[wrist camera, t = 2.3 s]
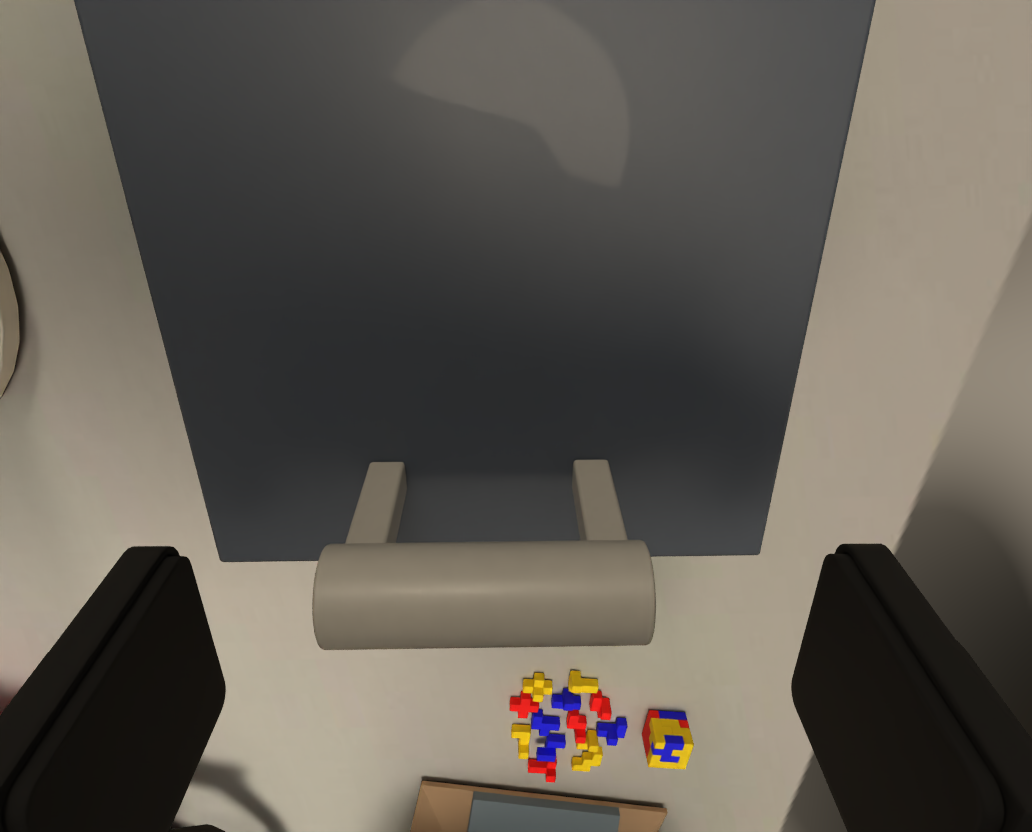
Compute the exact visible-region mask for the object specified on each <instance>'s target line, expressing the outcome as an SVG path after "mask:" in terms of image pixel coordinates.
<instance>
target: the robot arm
mask: <svg viewBox="0 0 1032 832" xmlns="http://www.w3.org/2000/svg"><path fill="white" fill-rule="evenodd" d="M19 342H20V335H19V314H18V304H17V300H16V296H15V292H14V288H13V284H12V280H11V276H10V272H9V269H8V266H7V264H6V262H5V260H4V258H3V255H2V253H1V251H0V398H1V396H2V394H3V392H4V390H5V388H6V386H7V384H8V382H9V380H10V378H11V376H12V374H13V372H14V368H15V363H16V357H17V352H18V347H19ZM791 690H792V697H793V702H794V705H795V708H796V710H797V713H798V715H799V717H800V720H801V722H802V724H803V727H804V729H805V732H806V734H807V736H808V739H809V741H810V743H811V746H812V748H813V751H814V753H815V755H816V758H817V760H818V762H819V765H820V767H821V769H822V771H823V774H824V777H825V779H826V781H827V784H828V786H829V789H830V791H831V793H832V795H833V798H834V800H835V803H836V805H837V807H838V810H839V812H840V815H841V817H842V819H843V822H844V824H845V826H846V829H847V831H848V832H1032V739H1031V737H1030V736H1029V734H1028V733H1027V732H1026V730H1025V729H1024V728H1023V726H1022V725H1021V724H1020V722H1019V721H1018V720H1017V718H1016V717H1015V716H1014V714H1013V713H1012V712H1011V710H1010V709H1009V708H1008V706H1007V705H1006V703H1005V702H1004V701H1003V699H1002V698H1001V697H1000V696H999V694H998V693H997V691H996V690H995V689H994V687H993V686H992V684H991V683H990V682H989V681H988V679H987V678H986V676H985V675H984V674H983V673H982V671H981V670H980V668H979V667H978V666H977V664H976V663H975V662H974V660H973V659H972V657H971V656H970V655H969V653H968V652H967V651H966V650H965V648H964V647H963V646H962V645H961V644H960V643H959V642H958V641H957V640H955V638H954V637H953V635H952V634H951V633H950V631H949V630H948V629H947V627H946V626H945V625H944V623H943V622H942V621H941V619H940V618H939V616H938V615H937V614H936V613H935V611H934V610H933V608H932V607H931V605H930V604H929V603H928V601H927V600H926V599H925V597H924V596H923V595H922V593H921V592H920V591H919V589H918V588H917V586H916V585H915V584H914V583H913V581H912V580H911V578H910V577H909V576H908V574H907V573H906V572H905V570H904V569H903V567H902V566H901V565H900V563H899V562H898V561H897V559H896V558H895V557H894V555H893V554H892V552H891V551H890V550H889V549H888V548H887V547H886V546H885V545H882V544H842V545H840V546H839V547H838V548H837V549H836V552H835V554H828V555H827V556H826V557H825V559H824V562H823V565H822V569H821V573H820V576H819V580H818V584H817V588H816V591H815V595H814V599H813V603H812V607H811V610H810V614H809V618H808V622H807V625H806V629H805V633H804V637H803V640H802V644H801V648H800V652H799V655H798V659H797V663H796V667H795V670H794V674H793V678H792V686H791ZM225 692H226V688H225V681H224V677H223V674H222V670H221V667H220V663H219V660H218V656H217V653H216V649H215V646H214V642H213V639H212V635H211V632H210V628H209V625H208V621H207V618H206V614H205V611H204V607H203V604H202V600H201V597H200V593H199V590H198V586H197V583H196V579H195V576H194V572H193V569H192V565H191V563H190V560H189V559H188V558H187V557H184V556H180V555H179V553H178V551H177V550H176V549H175V548H174V547H170V546H138V547H131V548H128V549H127V550H126V551H125V552H124V553H123V555H122V556H121V557H120V559H119V560H118V561H117V563H116V564H115V565H114V566H113V568H112V569H111V570H110V572H109V573H108V574H107V576H106V577H105V578H104V580H103V581H102V582H101V584H100V585H99V586H98V588H97V589H96V590H95V592H94V593H93V594H92V596H91V597H90V598H89V600H88V601H87V602H86V604H85V605H84V606H83V607H82V609H81V610H80V611H79V613H78V614H77V615H76V617H75V618H74V619H73V621H72V622H71V623H70V625H69V626H68V627H67V629H66V630H65V631H64V633H63V634H62V635H61V637H60V638H59V639H58V641H57V642H56V643H55V645H54V646H53V647H52V649H51V650H50V651H49V652H48V653H47V654H46V656H45V657H44V658H43V660H42V661H41V662H40V663H39V665H38V666H37V667H36V669H35V670H34V671H33V673H32V674H31V675H30V677H29V678H28V679H27V681H26V682H25V683H24V685H23V686H22V687H21V689H20V690H19V691H18V693H17V694H16V695H15V697H14V698H13V699H12V700H11V702H10V703H9V704H8V706H7V707H6V708H5V710H4V711H3V712H2V714H1V715H0V832H169V830H170V828H171V826H172V823H173V821H174V819H175V816H176V814H177V812H178V809H179V807H180V805H181V802H182V800H183V798H184V796H185V793H186V791H187V789H188V786H189V784H190V782H191V779H192V777H193V775H194V772H195V770H196V768H197V766H198V763H199V761H200V759H201V756H202V754H203V752H204V749H205V747H206V745H207V742H208V740H209V738H210V736H211V733H212V731H213V729H214V726H215V724H216V722H217V719H218V717H219V715H220V713H221V710H222V707H223V704H224V700H225Z"/></svg>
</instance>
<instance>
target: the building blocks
mask: <svg viewBox="0 0 1032 832" xmlns="http://www.w3.org/2000/svg"><path fill="white" fill-rule="evenodd" d="M598 687H599V686H598V679H587V678H581V673H580V671H571V672H570V677H569V681H568V689H567V688H563V692H562V695H559V694H553V695H552V700H551V703H552V708H558V709H563V710H566V711H568V716H567V720H566V722H567V728H570V729H574V732H575V742H576V747H577V749H586V750H588V752H583V753H582V757H573V758H572V762H571V764H572V770H574V771H590V767H591V766H600V763H601V759H602V756H603V753H602V747H599V745H598V738H597V736H599V737H606V740H607V745H613V746H616V745H617V741H618V738H624V736H625V733H626V729H627V721H626V718H617V720H616V724H610V723H597V727H596V730H588V731H587V735H586V732H585V728H586V724H587V722H586V716H583V715H579V712H578V710H580V707H581V697H580V696H574V695H573V693H581V692H585V693H592V694H591V698H590V702H589V705H590V711H597V715H598V718H601V720H610V718H611V714H612V713H611V707H610V701H609V698H602V691H598ZM552 689H553V687H552V681H550V680H544V673H534V678H533V679H524V680H523V691H521V695H520V698H519V697H511V698H510V711H518V718H527V717H528V712H533V713H532V719H531V726H530V725H519V724H512V729H511V738H519V741H518V753H519V759H528V755H529V746H528V745H529V740H530V734H531V729H539V736H547V737H546V742H545V748H544V747H537V752H536V756H537V760H535V759H529V761H528V773H544V774H546V782H555V779H556V770H555V768H556V764H557V760H556V749H555V748H565V744H566V740H565V735H560V734H549V731H550V730H555V731H559V727H560V718H559V717H552V716H543V710H542V709H539V702H542V701H543V696H544V694H547V695H551V694H552ZM531 693H532V696H533V698H531ZM642 737H643V742H644V747H645V752H646V757H647V762H648V767H656V768H673V769H685V768H686V765H687V763H688V760H689V757H690V754H691V752H692V749H693V746H694V743H693V740H692V736H691V732H690V729H689V725H688V721H687V718H686V714H685V712H673V711H657V710H649V712H648V716H647V719H646V722H645V726H644V729H643V732H642Z"/></svg>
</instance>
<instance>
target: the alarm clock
mask: <svg viewBox="0 0 1032 832" xmlns="http://www.w3.org/2000/svg"><path fill="white" fill-rule="evenodd" d="M666 815H667V809H666V808H658V807H649V806H640V805H631V804H623V803H614V802H605V801H596V800H588V799H579V798H570V797H562V796H553V795H544V794H535V793H527V792H518V791H509V790H500V789H492V788H483V787H474V786H466V785H457V784H448V783H439V782H431V781H422V783H421V787H420V791H419V796H418V800H417V804H416V809H415V813H414V817H413V822H412V826H411V830H410V832H658V831H659V829H660V827H661V825H662V823H663V821H664V819H665V817H666Z"/></svg>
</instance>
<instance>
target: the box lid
mask: <svg viewBox="0 0 1032 832" xmlns="http://www.w3.org/2000/svg"><path fill="white" fill-rule="evenodd" d="M875 1H876V0H74V2H75V6H76V10H77V14H78V18H79V21H80V25H81V29H82V33H83V37H84V41H85V44H86V48H87V52H88V56H89V60H90V64H91V67H92V71H93V75H94V79H95V83H96V87H97V90H98V94H99V98H100V102H101V106H102V110H103V113H104V117H105V121H106V125H107V129H108V133H109V136H110V140H111V144H112V148H113V152H114V156H115V159H116V163H117V167H118V171H119V175H120V179H121V182H122V186H123V190H124V194H125V198H126V202H127V205H128V209H129V213H130V217H131V221H132V225H133V228H134V232H135V236H136V240H137V244H138V248H139V251H140V255H141V259H142V263H143V267H144V271H145V274H146V278H147V282H148V286H149V290H150V294H151V297H152V301H153V305H154V309H155V313H156V317H157V320H158V324H159V328H160V332H161V336H162V340H163V343H164V347H165V351H166V355H167V359H168V363H169V366H170V370H171V374H172V378H173V382H174V386H175V389H176V393H177V397H178V401H179V405H180V409H181V412H182V416H183V420H184V424H185V428H186V432H187V435H188V439H189V443H190V447H191V451H192V455H193V458H194V462H195V466H196V470H197V474H198V478H199V481H200V485H201V489H202V493H203V497H204V501H205V504H206V508H207V512H208V516H209V520H210V524H211V527H212V531H213V535H214V539H215V543H216V547H217V550H218V554H219V558H220V560H221V561H222V562H262V561H318V564H317V568H316V573H315V579H314V587H313V607H312V609H313V625H314V632H315V636H316V640H317V643H318V645H319V647H320V648H322V649H324V650H358V649H425V648H492V647H559V646H626V645H648V644H649V643H650V642H651V640H652V637H653V633H654V627H655V616H656V597H655V582H654V574H653V567H652V562H651V557H650V556H722V555H758V554H759V553H760V550H761V545H762V540H763V535H764V531H765V526H766V521H767V516H768V512H769V507H770V502H771V497H772V492H773V488H774V483H775V478H776V473H777V469H778V464H779V459H780V454H781V450H782V445H783V440H784V435H785V430H786V426H787V421H788V416H789V411H790V407H791V402H792V397H793V392H794V388H795V383H796V378H797V373H798V368H799V364H800V359H801V354H802V349H803V345H804V340H805V335H806V330H807V326H808V321H809V316H810V311H811V307H812V302H813V297H814V292H815V287H816V283H817V278H818V273H819V268H820V264H821V259H822V254H823V249H824V245H825V240H826V235H827V230H828V225H829V221H830V216H831V211H832V206H833V202H834V197H835V192H836V187H837V183H838V178H839V173H840V168H841V163H842V159H843V154H844V149H845V144H846V140H847V135H848V130H849V125H850V121H851V116H852V111H853V106H854V102H855V97H856V92H857V87H858V82H859V78H860V73H861V68H862V63H863V59H864V54H865V49H866V44H867V40H868V35H869V30H870V25H871V20H872V16H873V11H874V6H875Z"/></svg>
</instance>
